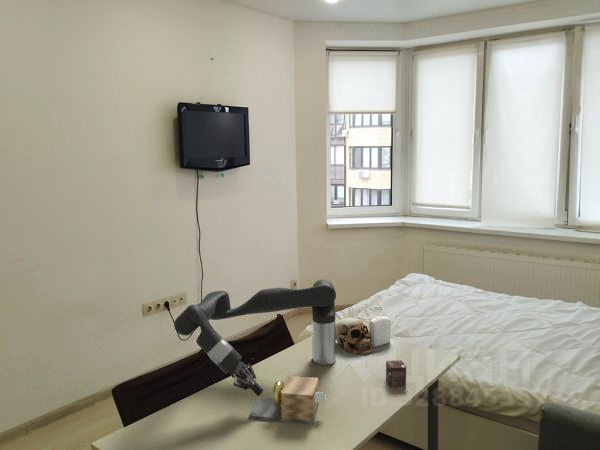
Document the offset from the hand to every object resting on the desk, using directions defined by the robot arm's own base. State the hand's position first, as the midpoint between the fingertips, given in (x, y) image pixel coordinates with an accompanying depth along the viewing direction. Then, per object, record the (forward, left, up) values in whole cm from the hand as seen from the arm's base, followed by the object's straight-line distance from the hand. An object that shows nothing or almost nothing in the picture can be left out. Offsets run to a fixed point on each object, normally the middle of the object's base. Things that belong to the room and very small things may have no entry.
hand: (261, 393), depth 158 cm
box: (+8, +50, -6) cm, 51 cm away
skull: (-27, +57, -6) cm, 63 cm away
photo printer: (-24, +68, -6) cm, 73 cm away
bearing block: (+5, +6, -6) cm, 10 cm away
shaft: (+8, +10, -4) cm, 14 cm away
